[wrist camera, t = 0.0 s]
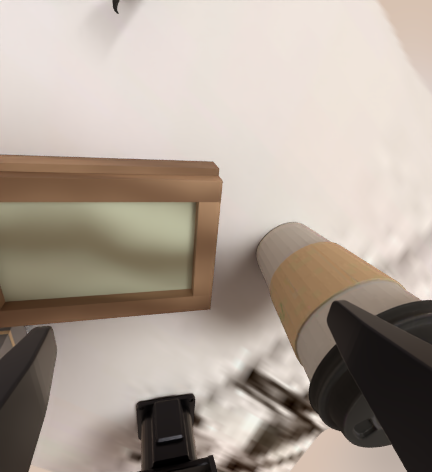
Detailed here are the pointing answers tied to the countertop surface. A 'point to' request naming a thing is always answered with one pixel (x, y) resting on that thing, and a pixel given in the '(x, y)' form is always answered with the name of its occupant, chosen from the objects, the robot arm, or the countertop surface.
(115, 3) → the creature
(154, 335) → the countertop surface
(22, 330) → the glasses case
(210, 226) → the wooden picture frame
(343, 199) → the countertop surface
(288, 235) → the coffee cup
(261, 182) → the countertop surface
